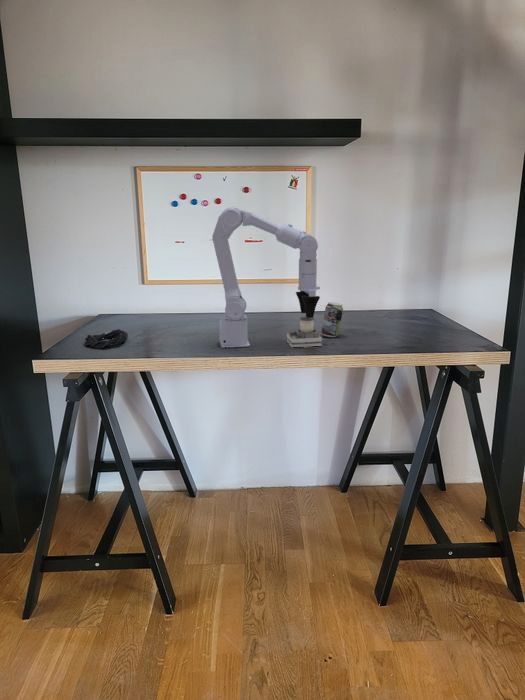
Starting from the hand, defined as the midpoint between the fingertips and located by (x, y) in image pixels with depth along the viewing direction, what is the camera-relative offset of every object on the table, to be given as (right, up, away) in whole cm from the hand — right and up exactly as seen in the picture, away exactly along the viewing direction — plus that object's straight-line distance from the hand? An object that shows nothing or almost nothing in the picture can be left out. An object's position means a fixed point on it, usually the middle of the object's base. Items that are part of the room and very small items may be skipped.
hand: (307, 315), depth 169 cm
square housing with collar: (-1, -10, +2) cm, 10 cm away
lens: (0, -7, +2) cm, 7 cm away
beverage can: (+10, -7, +13) cm, 17 cm away
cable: (-68, -10, +7) cm, 69 cm away
